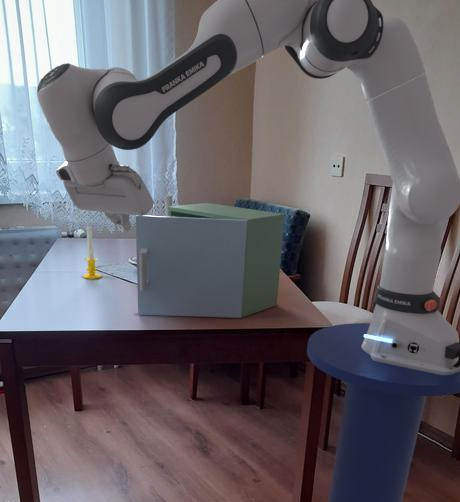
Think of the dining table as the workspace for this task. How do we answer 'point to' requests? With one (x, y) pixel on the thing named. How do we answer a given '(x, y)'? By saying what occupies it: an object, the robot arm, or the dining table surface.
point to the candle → (91, 257)
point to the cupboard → (250, 249)
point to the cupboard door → (190, 266)
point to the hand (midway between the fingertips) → (124, 229)
